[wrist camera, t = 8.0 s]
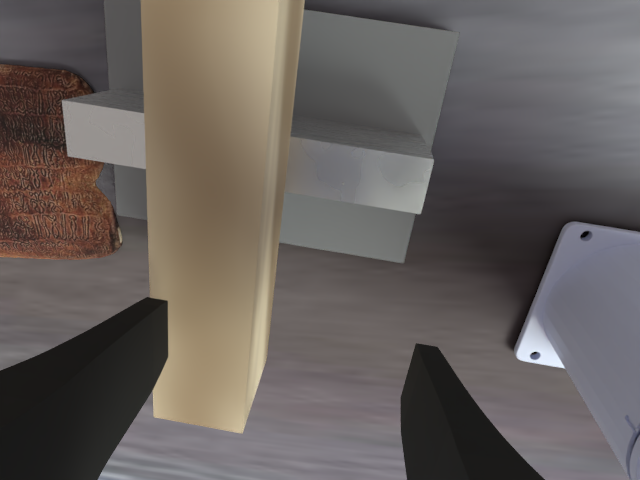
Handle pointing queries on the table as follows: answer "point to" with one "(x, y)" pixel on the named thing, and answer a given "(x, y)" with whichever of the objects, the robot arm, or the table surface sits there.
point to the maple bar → (216, 192)
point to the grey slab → (323, 113)
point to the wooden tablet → (48, 173)
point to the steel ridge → (303, 158)
